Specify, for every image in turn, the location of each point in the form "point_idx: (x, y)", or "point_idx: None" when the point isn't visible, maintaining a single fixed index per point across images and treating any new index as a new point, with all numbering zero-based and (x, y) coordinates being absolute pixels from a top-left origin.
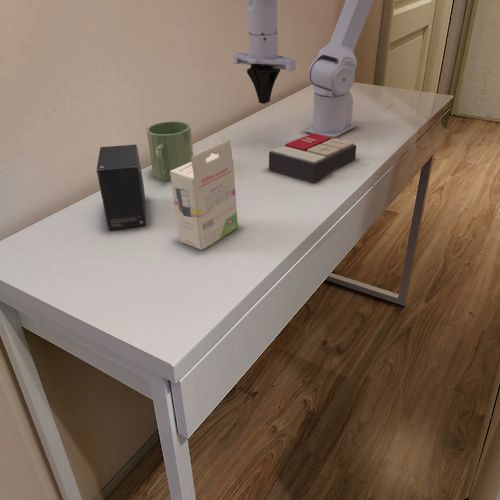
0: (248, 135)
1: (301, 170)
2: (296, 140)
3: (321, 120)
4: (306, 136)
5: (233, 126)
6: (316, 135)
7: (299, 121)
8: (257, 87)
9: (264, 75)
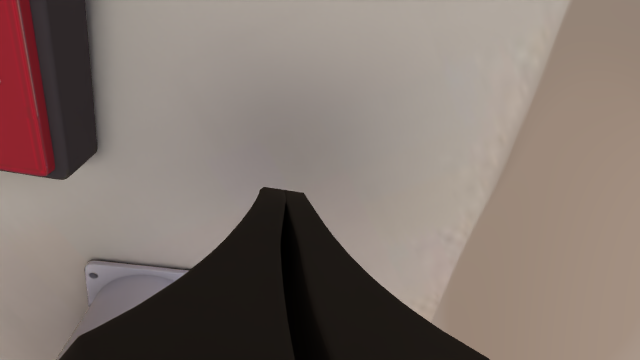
0: (383, 184)
1: None
2: (9, 25)
3: (129, 309)
4: (28, 117)
5: (463, 236)
6: (4, 153)
7: None
8: (312, 249)
9: (95, 336)
